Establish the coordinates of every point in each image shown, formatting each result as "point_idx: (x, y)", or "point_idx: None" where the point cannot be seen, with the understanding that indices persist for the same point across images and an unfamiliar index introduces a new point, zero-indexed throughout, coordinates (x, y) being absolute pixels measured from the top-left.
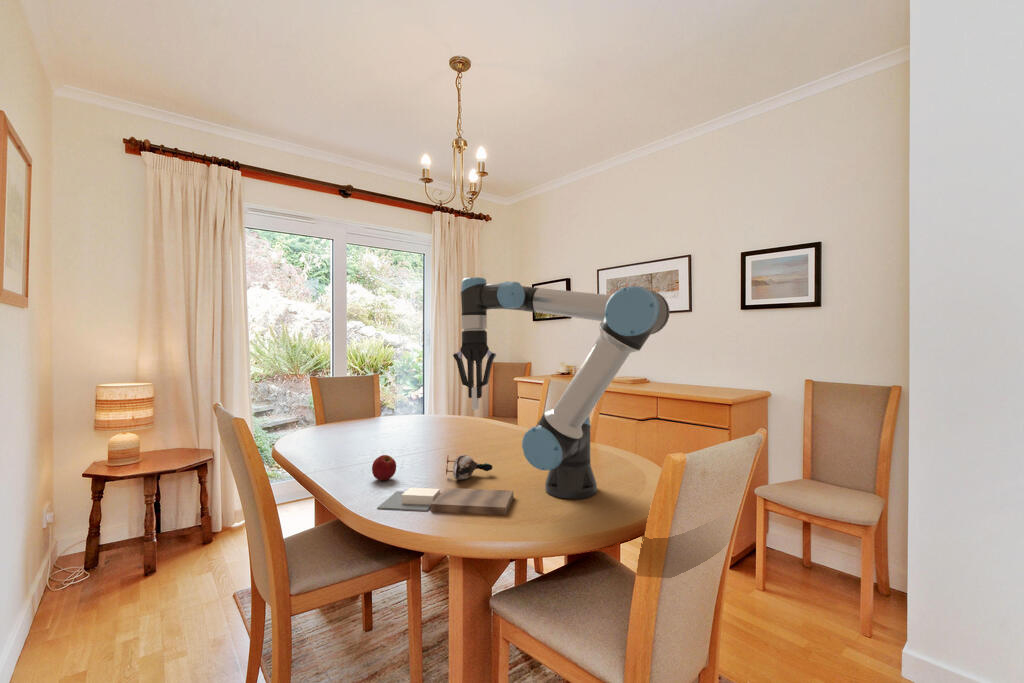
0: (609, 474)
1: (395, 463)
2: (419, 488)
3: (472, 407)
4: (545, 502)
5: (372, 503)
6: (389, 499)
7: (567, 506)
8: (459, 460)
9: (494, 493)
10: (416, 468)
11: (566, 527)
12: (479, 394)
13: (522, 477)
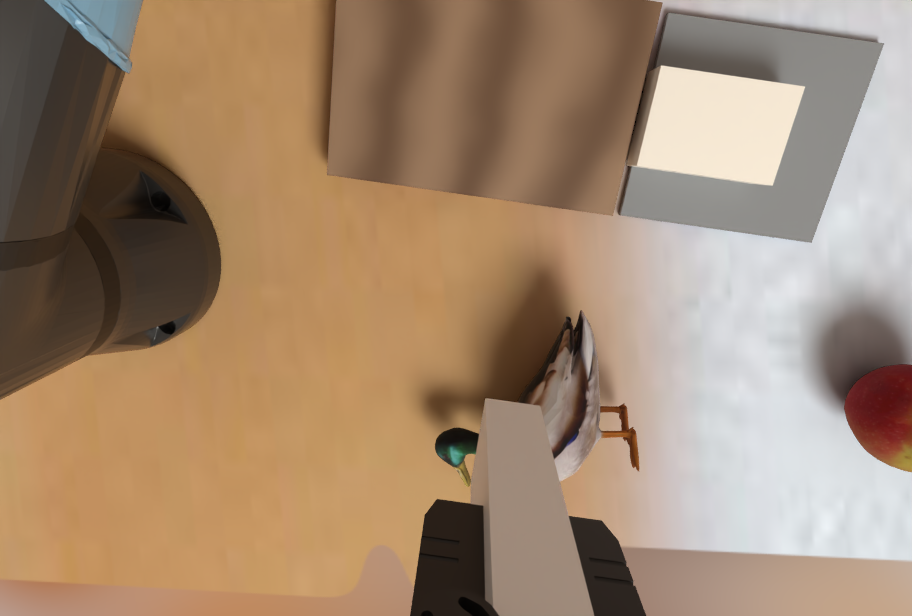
0: (6, 423)
1: (875, 425)
2: (728, 172)
3: (535, 415)
4: (208, 118)
5: (903, 113)
6: (837, 141)
7: None
8: (577, 398)
9: (401, 139)
10: (745, 522)
11: None
12: (444, 541)
13: (321, 403)
